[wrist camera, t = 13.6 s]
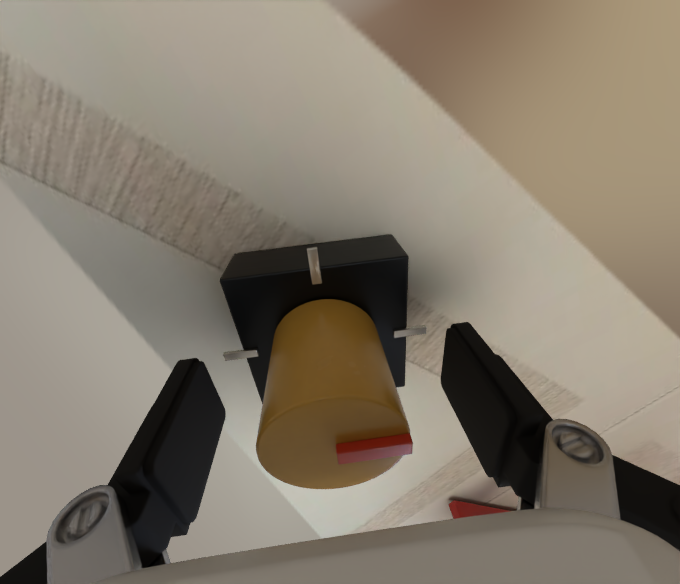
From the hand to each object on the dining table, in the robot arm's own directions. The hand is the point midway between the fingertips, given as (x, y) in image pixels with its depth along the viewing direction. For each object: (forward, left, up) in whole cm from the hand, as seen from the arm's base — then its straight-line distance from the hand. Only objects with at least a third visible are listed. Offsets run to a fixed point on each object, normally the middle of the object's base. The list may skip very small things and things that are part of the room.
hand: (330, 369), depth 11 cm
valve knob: (0, 0, -2) cm, 2 cm away
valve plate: (0, 0, -4) cm, 4 cm away
